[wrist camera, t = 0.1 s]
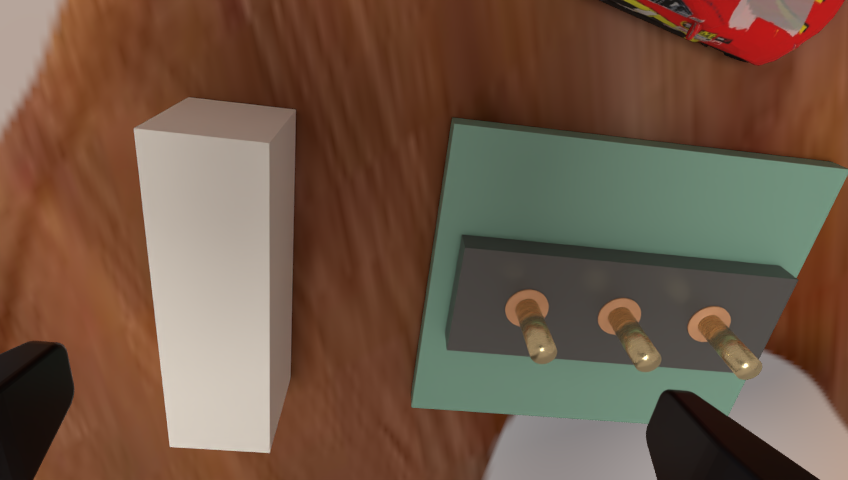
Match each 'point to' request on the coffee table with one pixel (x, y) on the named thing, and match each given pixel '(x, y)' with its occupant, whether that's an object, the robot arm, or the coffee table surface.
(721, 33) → the race car
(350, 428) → the coffee table surface
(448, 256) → the board
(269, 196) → the grey rectangular block
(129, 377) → the coffee table surface
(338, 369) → the coffee table surface
